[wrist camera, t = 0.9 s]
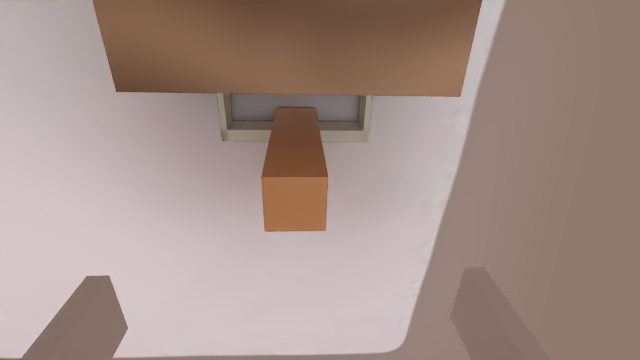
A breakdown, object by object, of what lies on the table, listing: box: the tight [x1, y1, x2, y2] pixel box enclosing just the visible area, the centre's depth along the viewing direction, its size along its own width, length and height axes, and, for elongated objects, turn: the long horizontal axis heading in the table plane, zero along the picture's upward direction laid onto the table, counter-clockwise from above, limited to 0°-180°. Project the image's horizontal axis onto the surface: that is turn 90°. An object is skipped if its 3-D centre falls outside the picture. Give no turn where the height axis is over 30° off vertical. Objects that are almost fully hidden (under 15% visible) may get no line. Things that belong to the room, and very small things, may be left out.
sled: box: [216, 93, 373, 232], centre depth 20 cm, size 20×12×14 cm, turn 178°
